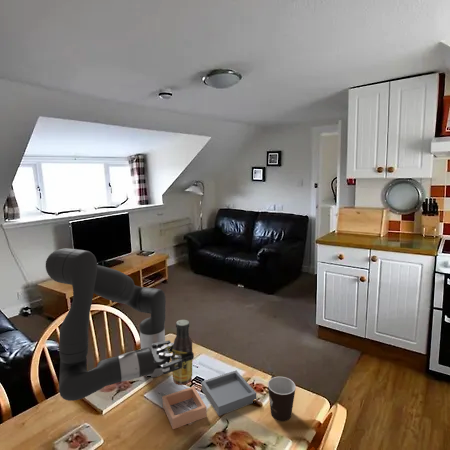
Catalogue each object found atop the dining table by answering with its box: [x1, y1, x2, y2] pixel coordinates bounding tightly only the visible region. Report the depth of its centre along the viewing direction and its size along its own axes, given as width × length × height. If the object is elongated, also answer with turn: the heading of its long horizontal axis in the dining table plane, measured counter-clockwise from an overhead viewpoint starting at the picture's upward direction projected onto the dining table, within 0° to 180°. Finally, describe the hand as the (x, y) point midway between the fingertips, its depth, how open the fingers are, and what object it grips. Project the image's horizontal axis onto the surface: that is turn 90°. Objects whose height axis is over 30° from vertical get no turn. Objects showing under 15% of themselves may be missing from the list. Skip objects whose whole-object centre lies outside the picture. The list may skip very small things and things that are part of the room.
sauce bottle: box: [171, 319, 193, 386], centre depth 101 cm, size 6×6×20 cm
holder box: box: [161, 385, 208, 430], centre depth 104 cm, size 11×11×4 cm
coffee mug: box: [267, 375, 297, 422], centre depth 103 cm, size 12×9×10 cm
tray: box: [201, 370, 257, 417], centre depth 111 cm, size 14×14×3 cm
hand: (189, 349), depth 102 cm, fingers closed on sauce bottle, 6 cm apart
